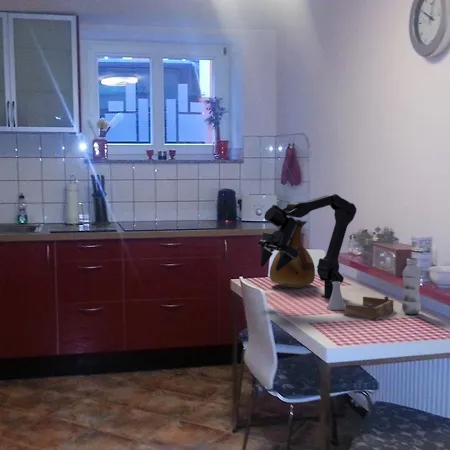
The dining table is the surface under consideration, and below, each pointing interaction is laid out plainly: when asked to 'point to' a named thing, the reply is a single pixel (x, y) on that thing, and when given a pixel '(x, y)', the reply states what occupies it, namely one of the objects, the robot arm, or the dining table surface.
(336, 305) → the flask
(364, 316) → the holder
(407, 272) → the plastic bottle
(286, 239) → the robot arm
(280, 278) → the ceramic pitcher
